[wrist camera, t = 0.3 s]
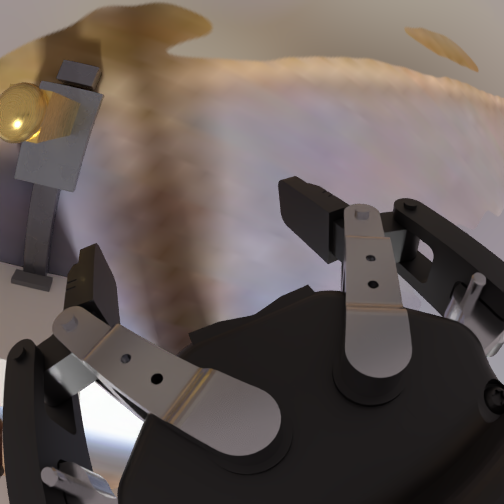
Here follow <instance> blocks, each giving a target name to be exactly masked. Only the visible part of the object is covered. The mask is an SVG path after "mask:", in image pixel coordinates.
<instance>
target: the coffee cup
mask: <svg viewBox="0 0 504 504" xmlns="http://www.w3.org/2000/svg"><path fill="white" fill-rule="evenodd" d="M2 429H3V422H2V420H1V419H0V476H2V475H3V473H4V469H3V466H2V431H3V430H2Z"/></svg>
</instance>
